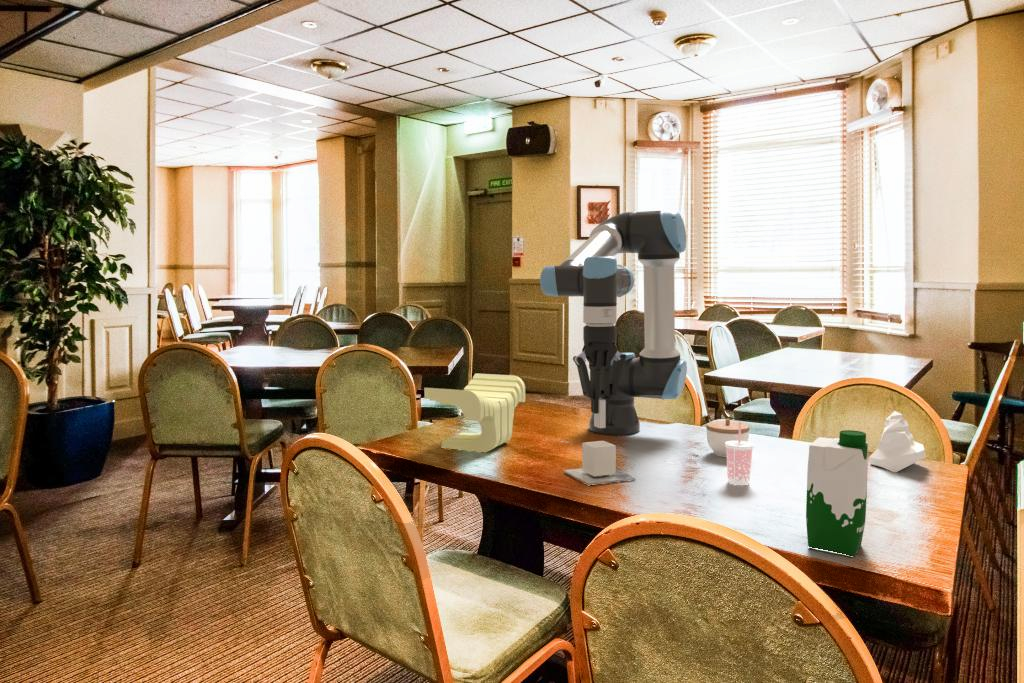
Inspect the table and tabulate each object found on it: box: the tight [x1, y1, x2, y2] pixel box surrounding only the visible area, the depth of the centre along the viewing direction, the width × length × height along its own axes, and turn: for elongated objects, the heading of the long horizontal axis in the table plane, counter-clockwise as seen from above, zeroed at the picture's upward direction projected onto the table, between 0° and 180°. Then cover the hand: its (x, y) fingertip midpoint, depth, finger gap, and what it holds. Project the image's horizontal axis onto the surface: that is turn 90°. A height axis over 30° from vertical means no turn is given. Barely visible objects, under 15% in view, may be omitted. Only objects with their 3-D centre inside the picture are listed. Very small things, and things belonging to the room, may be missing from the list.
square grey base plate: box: [563, 467, 636, 485], centre depth 165 cm, size 12×12×7 cm
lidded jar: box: [705, 418, 750, 458], centre depth 186 cm, size 11×11×9 cm
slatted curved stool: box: [423, 372, 526, 453], centre depth 196 cm, size 30×16×18 cm, turn 157°
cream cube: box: [581, 440, 617, 477], centre depth 165 cm, size 6×6×7 cm
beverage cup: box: [725, 420, 755, 485], centre depth 160 cm, size 6×6×14 cm
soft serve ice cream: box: [868, 410, 927, 473], centre depth 174 cm, size 12×15×14 cm
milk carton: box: [805, 429, 869, 557], centre depth 121 cm, size 9×9×20 cm
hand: (599, 426), depth 165 cm, fingers closed
